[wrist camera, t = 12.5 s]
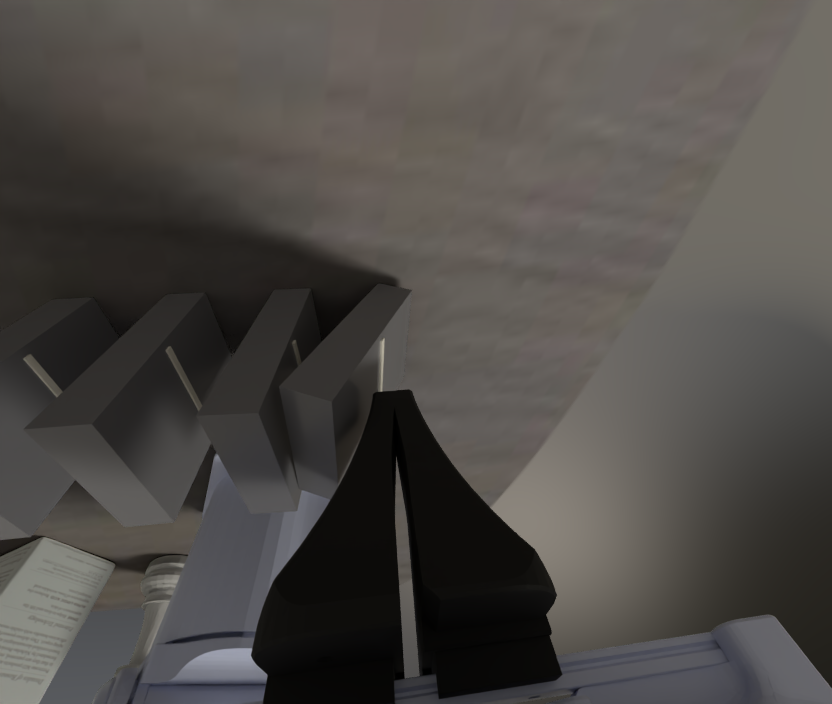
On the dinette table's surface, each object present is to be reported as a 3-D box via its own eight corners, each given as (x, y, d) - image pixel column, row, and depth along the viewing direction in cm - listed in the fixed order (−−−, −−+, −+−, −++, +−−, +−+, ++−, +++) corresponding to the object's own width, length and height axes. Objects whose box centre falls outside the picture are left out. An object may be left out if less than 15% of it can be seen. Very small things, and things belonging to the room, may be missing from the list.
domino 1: (95, 297, 14) (-105, 439, 8) (150, 385, 17) (33, 536, 11) (50, 299, 14) (-189, 445, 8) (113, 387, 17) (-26, 542, 11)
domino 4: (413, 290, 15) (334, 402, 9) (405, 376, 18) (341, 503, 12) (376, 282, 15) (276, 385, 9) (374, 368, 18) (297, 488, 12)
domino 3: (312, 288, 15) (261, 412, 9) (329, 374, 18) (299, 511, 12) (272, 289, 15) (193, 416, 9) (296, 375, 18) (248, 514, 12)
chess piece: (150, 551, 27) (56, 744, 19) (211, 556, 28) (149, 737, 20) (148, 575, 29) (62, 756, 21) (205, 578, 30) (146, 748, 22)
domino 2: (207, 292, 15) (94, 423, 9) (242, 379, 18) (176, 521, 12) (164, 294, 14) (19, 429, 8) (207, 381, 17) (122, 527, 11)
